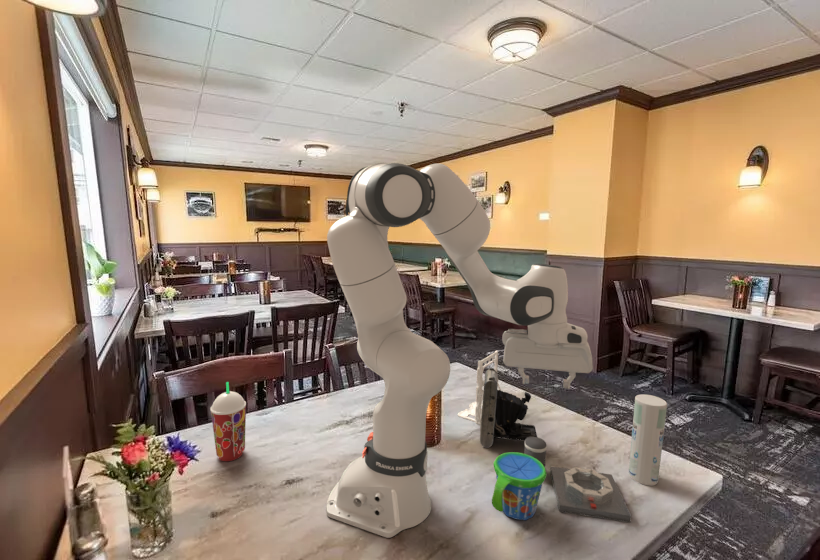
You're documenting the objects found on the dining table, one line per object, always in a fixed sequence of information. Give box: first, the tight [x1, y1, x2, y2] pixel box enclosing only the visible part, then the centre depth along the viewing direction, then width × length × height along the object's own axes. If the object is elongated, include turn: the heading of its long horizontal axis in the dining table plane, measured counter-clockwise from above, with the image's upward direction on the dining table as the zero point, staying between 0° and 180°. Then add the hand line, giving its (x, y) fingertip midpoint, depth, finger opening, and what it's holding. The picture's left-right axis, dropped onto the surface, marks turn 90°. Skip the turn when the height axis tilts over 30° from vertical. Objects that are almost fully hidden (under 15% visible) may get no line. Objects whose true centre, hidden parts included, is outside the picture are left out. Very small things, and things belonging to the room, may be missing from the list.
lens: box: [523, 436, 547, 468], centre depth 97 cm, size 5×5×8 cm
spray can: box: [628, 393, 668, 486], centre depth 95 cm, size 6×6×20 cm
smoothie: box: [209, 381, 247, 462], centre depth 102 cm, size 8×8×20 cm
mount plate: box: [549, 466, 632, 523], centre depth 90 cm, size 14×14×4 cm
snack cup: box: [491, 451, 547, 521], centre depth 84 cm, size 16×10×10 cm
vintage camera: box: [479, 367, 538, 449], centre depth 110 cm, size 10×16×20 cm, turn 79°
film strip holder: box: [457, 350, 502, 426], centre depth 126 cm, size 14×14×20 cm
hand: (545, 385), depth 96 cm, fingers open, 8 cm apart
